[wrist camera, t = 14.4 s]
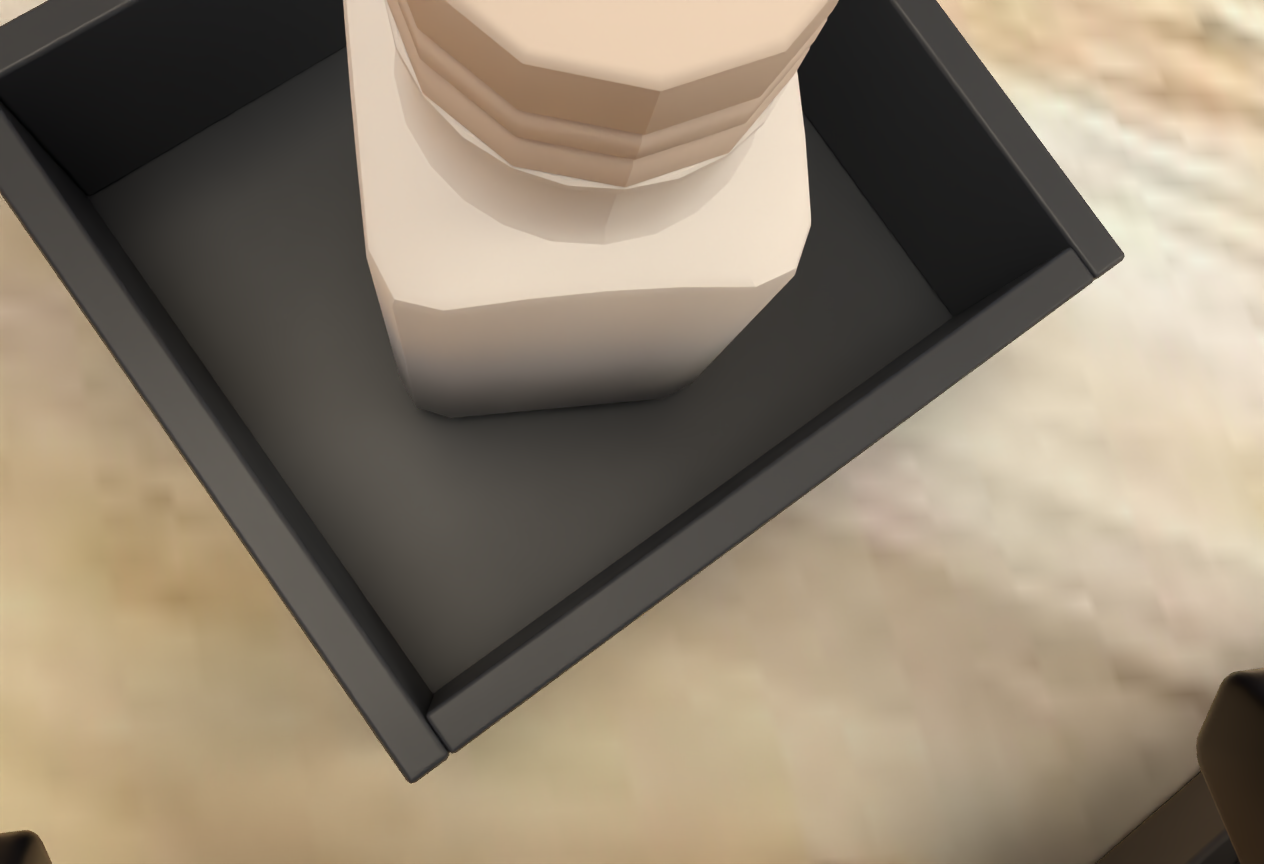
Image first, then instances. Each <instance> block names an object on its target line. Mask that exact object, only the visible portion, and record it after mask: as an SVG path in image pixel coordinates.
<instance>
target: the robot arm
mask: <svg viewBox="0 0 1264 864" xmlns="http://www.w3.org/2000/svg"><path fill="white" fill-rule="evenodd" d="M1196 749H1197V758H1198V763H1199V766H1200V769H1201V772H1202V774H1203V777H1204V779H1205V782H1206V784H1207V786H1208V789H1209V791H1210V793H1211V796H1212V798H1213V800H1214V803H1215V805H1216V807H1217V810H1218V812H1219V814H1220V817H1221V819H1222V821H1223V824H1224V826H1225V829H1226V831H1227V833H1228V836H1229V838H1230V840H1231V843H1232V845H1233V847H1234V850H1235V852H1236V854H1237V857H1238V859H1239V861H1240V864H1264V668H1261V669H1253V670H1245V671H1238V672H1234V673H1231V674H1230V675H1228V676H1227V677H1226V678H1225V679H1224V680H1223V682H1222V683H1221V685H1220V687H1219V690H1218V692H1217V694H1216V696H1215V698H1214V701H1213V703H1212V705H1211V707H1210V710H1209V712H1208V714H1207V716H1206V719H1205V721H1204V723H1203V725H1202V727H1201V730H1200V732H1199V734H1198V737H1197V745H1196ZM0 864H52V862H51V860H50V858H49V856H48V853H47V851H46V849H45V847H44V845H43V842H42V841H41V839H40V838H39V836H38V835H37V834H35V833H34V832H32V831H29V830H22V831H14V832H6V833H0Z"/></svg>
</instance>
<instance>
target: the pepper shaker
mask: <svg viewBox="0 0 1264 864" xmlns="http://www.w3.org/2000/svg"><path fill="white" fill-rule="evenodd" d="M838 1H839V0H343V5H344V19H345V32H346V45H347V57H348V69H349V81H350V94H351V104H352V115H353V126H354V137H355V148H356V159H357V169H358V179H359V189H360V199H361V209H362V219H363V229H364V238H365V248H366V258H367V261H368V265H369V268H370V272H371V275H372V279H373V283H374V286H375V290H376V293H377V297H378V300H379V304H380V308H381V311H382V315H383V318H384V322H385V325H386V329H387V333H388V336H389V340H390V343H391V347H392V350H393V354H394V358H395V361H396V365H397V368H398V372H399V375H400V378H401V380H402V382H403V383H404V385H405V387H406V389H407V391H408V393H409V395H410V396H411V398H412V400H413V402H414V404H415V406H416V407H417V408H420V409H423V410H426V411H430V412H433V413H436V414H439V415H443V416H446V417H449V418H455V417H466V416H477V415H489V414H500V413H511V412H521V411H532V410H543V409H554V408H565V407H576V406H587V405H598V404H609V403H620V402H630V401H641V400H652V399H663V398H664V397H666V396H668V395H670V394H672V393H674V392H676V391H677V390H679V389H681V388H683V387H685V386H687V385H689V384H691V383H692V382H693V381H694V380H695V379H696V378H697V377H698V376H699V375H700V374H701V373H702V372H703V371H704V370H705V369H706V368H707V366H708V365H709V364H710V363H711V362H712V361H713V360H714V359H715V358H716V357H717V356H718V355H719V354H720V353H721V352H722V351H723V350H724V349H725V348H726V347H727V346H728V344H729V343H730V342H731V341H732V340H733V339H734V338H735V337H736V336H737V335H738V334H739V333H740V332H741V331H742V330H743V329H744V328H745V327H746V326H747V325H748V324H749V323H750V321H751V320H752V319H753V318H754V317H755V316H756V315H757V314H758V313H759V312H760V311H761V310H762V309H763V308H764V307H765V306H766V305H767V304H768V303H769V302H770V301H771V300H772V298H773V297H774V296H775V295H776V294H777V293H778V292H779V291H780V290H781V289H782V288H783V287H784V286H785V285H786V284H787V283H788V282H789V281H790V280H791V279H792V278H793V276H794V275H795V273H796V270H797V266H798V263H799V260H800V257H801V254H802V251H803V248H804V245H805V242H806V239H807V236H808V233H809V230H810V227H811V210H810V196H809V182H808V168H807V154H806V140H805V130H804V122H803V114H802V106H801V98H800V89H799V81H798V73H797V69H798V68H799V66H800V64H801V63H802V61H803V59H804V58H805V56H806V54H807V53H808V51H809V49H810V46H811V44H812V43H813V42H814V41H815V39H816V38H817V36H818V34H819V33H820V31H821V29H822V28H823V26H824V24H825V23H826V21H827V17H828V16H829V15H830V13H831V12H832V11H833V10H834V8H835V6H836V5H837V3H838Z"/></svg>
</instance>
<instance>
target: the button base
mask: <svg viewBox="0 0 1264 864" xmlns="http://www.w3.org/2000/svg"><path fill="white" fill-rule="evenodd" d="M1096 864H1240V861H1239V859H1238V857H1237V854H1236V852H1235V850H1234V847H1233V845H1232V843H1231V840H1230V838H1229V836H1228V833H1227V831H1226V829H1225V826H1224V824H1223V821H1222V819H1221V817H1220V814H1219V812H1218V810H1217V807H1216V805H1215V803H1214V800H1213V798H1212V796H1211V793H1210V791H1209V789H1208V786H1207V784H1206V782H1205V779H1204V777H1203V774H1202V772H1200V773H1199V774H1198V775H1197V776H1196V777H1195V778H1194V779H1192V780H1191V781H1190V782H1189V783H1188V784H1187V785H1186V786H1184V787H1183V788H1182V789H1181V790H1180V791H1179V792H1177V793H1176V794H1175V795H1174V796H1173V797H1172V798H1171V799H1169V800H1168V801H1167V802H1166V803H1165V804H1164V805H1163V806H1161V807H1160V808H1159V809H1158V810H1157V811H1156V812H1155V813H1153V814H1152V815H1151V816H1150V817H1149V818H1148V819H1146V820H1145V821H1144V822H1143V823H1142V824H1141V825H1140V826H1138V827H1137V828H1136V829H1135V830H1134V831H1133V832H1132V833H1130V834H1129V835H1128V836H1127V837H1126V838H1125V839H1124V840H1122V841H1121V842H1120V843H1119V844H1118V845H1117V846H1115V847H1114V848H1113V849H1112V850H1111V851H1110V852H1109V853H1107V854H1106V855H1105V856H1104V857H1103V858H1102V859H1101V860H1099V861H1098V862H1097V863H1096Z"/></svg>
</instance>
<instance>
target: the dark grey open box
mask: <svg viewBox="0 0 1264 864" xmlns="http://www.w3.org/2000/svg"><path fill="white" fill-rule="evenodd" d="M797 73H798V81H799V89H800V98H801V106H802V114H803V122H804V130H805V140H806V154H807V168H808V182H809V196H810V210H811V227H810V230H809V233H808V236H807V239H806V242H805V245H804V248H803V251H802V254H801V257H800V260H799V263H798V266H797V270H796V273H795V275H794V276H793V278H792V279H791V280H790V281H789V282H788V283H787V284H786V285H785V286H784V287H783V288H782V289H781V290H780V291H779V292H778V293H777V294H776V295H775V296H774V297H773V298H772V300H771V301H770V302H769V303H768V304H767V305H766V306H765V307H764V308H763V309H762V310H761V311H760V312H759V313H758V314H757V315H756V316H755V317H754V318H753V319H752V320H751V321H750V323H749V324H748V325H747V326H746V327H745V328H744V329H743V330H742V331H741V332H740V333H739V334H738V335H737V336H736V337H735V338H734V339H733V340H732V341H731V342H730V343H729V344H728V346H727V347H726V348H725V349H724V350H723V351H722V352H721V353H720V354H719V355H718V356H717V357H716V358H715V359H714V360H713V361H712V362H711V363H710V364H709V365H708V366H707V368H706V369H705V370H704V371H703V372H702V373H701V374H700V375H699V376H698V377H697V378H696V379H695V380H694V381H693V382H692V383H691V384H689V385H687V386H685V387H683V388H681V389H679V390H677V391H676V392H674V393H672V394H670V395H668V396H666V397H664V398H663V399H652V400H641V401H630V402H620V403H609V404H598V405H587V406H576V407H565V408H554V409H543V410H532V411H521V412H511V413H500V414H489V415H477V416H466V417H455V418H449V417H446V416H443V415H439V414H436V413H433V412H430V411H426V410H423V409H420V408H417V407H416V406H415V404H414V402H413V400H412V398H411V396H410V395H409V393H408V391H407V389H406V387H405V385H404V383H403V382H402V380H401V378H400V375H399V372H398V368H397V365H396V361H395V358H394V354H393V350H392V347H391V343H390V340H389V336H388V333H387V329H386V325H385V322H384V318H383V315H382V311H381V308H380V304H379V300H378V297H377V293H376V290H375V286H374V283H373V279H372V275H371V272H370V268H369V265H368V261H367V258H366V248H365V238H364V229H363V219H362V209H361V199H360V189H359V179H358V169H357V159H356V148H355V137H354V126H353V115H352V104H351V94H350V81H349V69H348V57H347V45H346V32H345V19H344V5H343V0H48V1H46V2H44V3H42V4H41V5H39V6H37V7H35V8H33V9H31V10H30V11H28V12H26V13H24V14H22V15H20V16H19V17H17V18H15V19H13V20H11V21H9V22H8V23H6V24H4V25H2V26H0V194H1V195H2V196H3V198H4V199H5V201H6V202H7V204H8V205H9V207H10V208H11V209H12V211H13V212H14V214H15V215H16V217H17V218H18V220H19V221H20V222H21V224H22V225H23V227H24V228H25V230H26V231H27V233H28V234H29V235H30V237H31V238H32V240H33V241H34V243H35V244H36V246H37V247H38V248H39V250H40V251H41V253H42V254H43V256H44V257H45V259H46V260H47V261H48V263H49V264H50V266H51V267H52V269H53V270H54V272H55V273H56V274H57V276H58V277H59V279H60V280H61V282H62V283H63V285H64V286H65V287H66V289H67V290H68V292H69V293H70V295H71V296H72V298H73V299H74V300H75V302H76V303H77V305H78V306H79V308H80V309H81V311H82V312H83V314H84V315H85V316H86V318H87V319H88V321H89V322H90V324H91V325H92V327H93V328H94V329H95V331H96V332H97V334H98V335H99V337H100V338H101V340H102V341H103V342H104V344H105V345H106V347H107V348H108V350H109V351H110V353H111V354H112V355H113V357H114V358H115V360H116V361H117V363H118V364H119V366H120V367H121V368H122V370H123V371H124V373H125V374H126V376H127V377H128V379H129V380H130V381H131V383H132V384H133V386H134V387H135V389H136V390H137V392H138V393H139V394H140V396H141V397H142V399H143V400H144V402H145V403H146V405H147V406H148V407H149V409H150V410H151V412H152V413H153V415H154V416H155V418H156V419H157V420H158V422H159V423H160V425H161V426H162V428H163V429H164V431H165V432H166V433H167V435H168V436H169V438H170V439H171V441H172V442H173V444H174V445H175V446H176V448H177V449H178V451H179V452H180V454H181V455H182V457H183V458H184V459H185V461H186V462H187V464H188V465H189V467H190V468H191V470H192V471H193V473H194V474H195V475H196V477H197V478H198V480H199V481H200V483H201V484H202V486H203V487H204V488H205V490H206V491H207V493H208V494H209V496H210V497H211V499H212V500H213V501H214V503H215V504H216V506H217V507H218V509H219V510H220V512H221V513H222V514H223V516H224V517H225V519H226V520H227V522H228V523H229V525H230V526H231V527H232V529H233V530H234V532H235V533H236V535H237V536H238V538H239V539H240V540H241V542H242V543H243V545H244V546H245V548H246V549H247V551H248V552H249V553H250V555H251V556H252V558H253V559H254V561H255V562H256V564H257V565H258V566H259V568H260V569H261V571H262V572H263V574H264V575H265V577H266V578H267V579H268V581H269V582H270V584H271V585H272V587H273V588H274V590H275V591H276V592H277V594H278V595H279V597H280V598H281V600H282V601H283V603H284V604H285V605H286V607H287V608H288V610H289V611H290V613H291V614H292V616H293V617H294V618H295V620H296V621H297V623H298V624H299V626H300V627H301V629H302V630H303V632H304V633H305V634H306V636H307V637H308V639H309V640H310V642H311V643H312V645H313V646H314V647H315V649H316V650H317V652H318V653H319V655H320V656H321V658H322V659H323V660H324V662H325V663H326V665H327V666H328V668H329V669H330V671H331V672H332V673H333V675H334V676H335V678H336V679H337V681H338V682H339V684H340V685H341V686H342V688H343V689H344V691H345V692H346V694H347V695H348V697H349V698H350V699H351V701H352V702H353V704H354V705H355V707H356V708H357V710H358V711H359V712H360V714H361V715H362V717H363V718H364V720H365V721H366V723H367V724H368V725H369V727H370V728H371V730H372V731H373V733H374V734H375V736H376V737H377V738H378V740H379V741H380V743H381V744H382V746H383V747H384V749H385V750H386V751H387V753H388V754H389V756H390V757H391V759H392V760H393V762H394V763H395V764H396V766H397V767H398V769H399V770H400V772H401V773H402V775H403V776H404V777H405V779H406V780H407V781H408V782H409V783H415V782H417V781H418V780H419V779H421V778H422V777H423V776H425V775H426V774H428V773H429V772H430V771H432V770H433V769H434V768H436V767H437V766H438V765H440V764H441V763H442V762H444V761H445V760H446V759H447V758H448V756H449V753H450V752H451V753H456V752H457V751H459V750H460V749H461V748H463V747H464V746H466V745H467V744H468V743H470V742H471V741H472V740H474V739H475V738H476V737H478V736H479V735H480V734H482V733H483V732H484V731H486V730H487V729H489V728H490V727H491V726H493V725H494V724H495V723H497V722H498V721H499V720H501V719H502V718H503V717H505V716H506V715H507V714H509V713H510V712H512V711H513V710H514V709H516V708H517V707H518V706H520V705H521V704H522V703H524V702H525V701H526V700H528V699H529V698H531V697H532V696H533V695H535V694H536V693H537V692H539V691H540V690H541V689H543V688H544V687H545V686H547V685H548V684H549V683H551V682H552V681H554V680H555V679H556V678H558V677H559V676H560V675H562V674H563V673H564V672H566V671H567V670H568V669H570V668H571V667H572V666H574V665H575V664H577V663H578V662H579V661H581V660H582V659H583V658H585V657H586V656H587V655H589V654H590V653H591V652H593V651H594V650H595V649H597V648H598V647H600V646H601V645H602V644H604V643H605V642H606V641H608V640H609V639H610V638H612V637H613V636H614V635H616V634H617V633H618V632H620V631H621V630H623V629H624V628H625V627H627V626H628V625H629V624H631V623H632V622H633V621H635V620H636V619H637V618H639V617H640V616H641V615H643V614H644V613H646V612H647V611H648V610H650V609H651V608H652V607H654V606H655V605H656V604H658V603H659V602H660V601H662V600H663V599H665V598H666V597H667V596H669V595H670V594H671V593H673V592H674V591H675V590H677V589H678V588H679V587H681V586H682V585H683V584H685V583H686V582H688V581H689V580H690V579H692V578H693V577H694V576H696V575H697V574H698V573H700V572H701V571H702V570H704V569H705V568H706V567H708V566H709V565H711V564H712V563H713V562H715V561H716V560H717V559H719V558H720V557H721V556H723V555H724V554H725V553H727V552H728V551H729V550H731V549H732V548H734V547H735V546H736V545H738V544H739V543H740V542H742V541H743V540H744V539H746V538H747V537H748V536H750V535H751V534H752V533H754V532H755V531H757V530H758V529H759V528H761V527H762V526H763V525H765V524H766V523H767V522H769V521H770V520H771V519H773V518H774V517H776V516H777V515H778V514H780V513H781V512H782V511H784V510H785V509H786V508H788V507H789V506H790V505H792V504H793V503H794V502H796V501H797V500H799V499H800V498H801V497H803V496H804V495H805V494H807V493H808V492H809V491H811V490H812V489H813V488H815V487H816V486H817V485H819V484H820V483H822V482H823V481H824V480H826V479H827V478H828V477H830V476H831V475H832V474H834V473H835V472H836V471H838V470H839V469H840V468H842V467H843V466H845V465H846V464H847V463H849V462H850V461H851V460H853V459H854V458H855V457H857V456H858V455H859V454H861V453H862V452H863V451H865V450H866V449H868V448H869V447H870V446H872V445H873V444H874V443H876V442H877V441H878V440H880V439H881V438H882V437H884V436H885V435H886V434H888V433H889V432H891V431H892V430H893V429H895V428H896V427H897V426H899V425H900V424H901V423H903V422H904V421H905V420H907V419H908V418H910V417H911V416H912V415H914V414H915V413H916V412H918V411H919V410H920V409H922V408H923V407H924V406H926V405H927V404H928V403H930V402H931V401H933V400H934V399H935V398H937V397H938V396H939V395H941V394H942V393H943V392H945V391H946V390H947V389H949V388H950V387H951V386H953V385H954V384H956V383H957V382H958V381H960V380H961V379H962V378H964V377H965V376H966V375H968V374H969V373H970V372H972V371H973V370H974V369H976V368H977V367H979V366H980V365H981V364H983V363H984V362H985V361H987V360H988V359H989V358H991V357H992V356H993V355H995V354H996V353H997V352H999V351H1000V350H1002V349H1003V348H1004V347H1006V346H1007V345H1008V344H1010V343H1011V342H1012V341H1014V340H1015V339H1016V338H1018V337H1019V336H1021V335H1022V334H1023V333H1025V332H1026V331H1027V330H1029V329H1030V328H1031V327H1033V326H1034V325H1035V324H1037V323H1038V322H1039V321H1041V320H1042V319H1044V318H1045V317H1046V316H1048V315H1049V314H1050V313H1052V312H1053V311H1054V310H1056V309H1057V308H1058V307H1060V306H1061V305H1062V304H1064V303H1065V302H1067V301H1068V300H1069V299H1071V298H1072V297H1073V296H1075V295H1076V294H1077V293H1079V292H1080V291H1081V290H1083V289H1084V288H1085V287H1087V286H1088V285H1090V284H1091V283H1092V281H1094V280H1095V279H1097V278H1099V277H1100V276H1102V275H1103V274H1104V273H1106V272H1107V271H1108V270H1110V269H1111V268H1113V267H1114V266H1115V265H1117V264H1118V263H1119V262H1121V261H1122V260H1123V258H1124V253H1123V252H1122V250H1121V249H1120V248H1119V246H1118V245H1117V244H1116V242H1115V241H1114V240H1113V238H1112V237H1111V235H1110V234H1109V233H1108V231H1107V230H1106V229H1105V227H1104V226H1103V225H1102V223H1101V222H1100V221H1099V219H1098V218H1097V217H1096V215H1095V214H1094V213H1093V211H1092V210H1091V209H1090V207H1089V206H1088V204H1087V203H1086V202H1085V200H1084V199H1083V198H1082V196H1081V195H1080V194H1079V192H1078V191H1077V190H1076V188H1075V187H1074V186H1073V184H1072V183H1071V182H1070V180H1069V179H1068V178H1067V176H1066V175H1065V173H1064V172H1063V171H1062V169H1061V168H1060V167H1059V165H1058V164H1057V163H1056V161H1055V160H1054V159H1053V157H1052V156H1051V155H1050V153H1049V152H1048V151H1047V149H1046V148H1045V146H1044V145H1043V144H1042V142H1041V141H1040V140H1039V138H1038V137H1037V136H1036V134H1035V133H1034V132H1033V130H1032V129H1031V128H1030V126H1029V125H1028V124H1027V122H1026V121H1025V120H1024V118H1023V117H1022V115H1021V114H1020V113H1019V111H1018V110H1017V109H1016V107H1015V106H1014V105H1013V103H1012V102H1011V101H1010V99H1009V98H1008V97H1007V95H1006V94H1005V93H1004V91H1003V90H1002V89H1001V87H1000V86H999V84H998V83H997V82H996V80H995V79H994V78H993V76H992V75H991V74H990V72H989V71H988V70H987V68H986V67H985V66H984V64H983V63H982V62H981V60H980V59H979V58H978V56H977V55H976V53H975V52H974V51H973V49H972V48H971V47H970V45H969V44H968V43H967V41H966V40H965V39H964V37H963V36H962V35H961V33H960V32H959V31H958V29H957V28H956V27H955V25H954V24H953V22H952V21H951V20H950V18H949V17H948V16H947V14H946V13H945V12H944V10H943V9H942V8H941V6H940V5H939V4H938V2H937V1H936V0H839V1H838V3H837V5H836V6H835V8H834V10H833V11H832V12H831V13H830V15H829V16H828V17H827V21H826V23H825V24H824V26H823V28H822V29H821V31H820V33H819V34H818V36H817V38H816V39H815V41H814V42H813V43H812V44H811V46H810V49H809V51H808V53H807V54H806V56H805V58H804V59H803V61H802V63H801V64H800V66H799V68H798V69H797Z"/></svg>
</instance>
